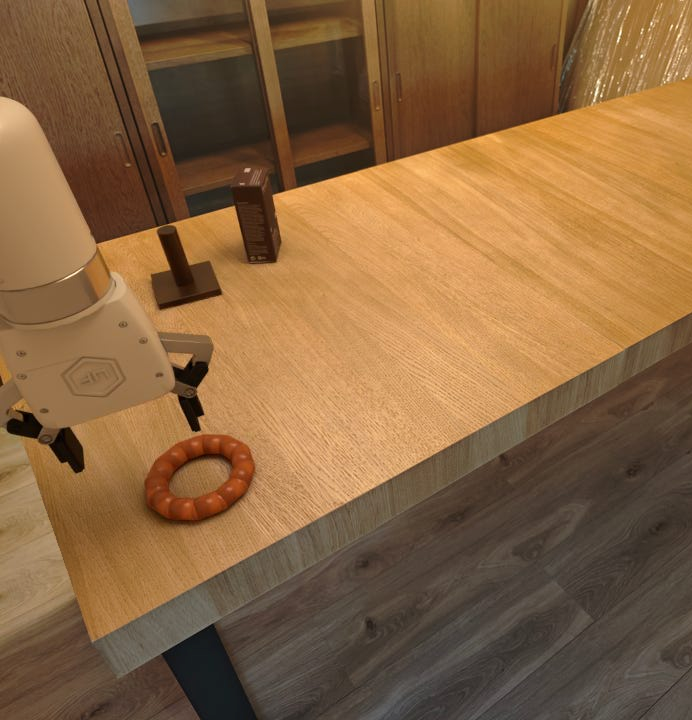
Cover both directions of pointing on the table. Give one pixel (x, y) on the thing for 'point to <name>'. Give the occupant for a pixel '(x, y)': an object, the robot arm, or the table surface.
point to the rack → (181, 274)
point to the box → (256, 214)
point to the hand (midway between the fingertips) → (139, 441)
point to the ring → (207, 503)
